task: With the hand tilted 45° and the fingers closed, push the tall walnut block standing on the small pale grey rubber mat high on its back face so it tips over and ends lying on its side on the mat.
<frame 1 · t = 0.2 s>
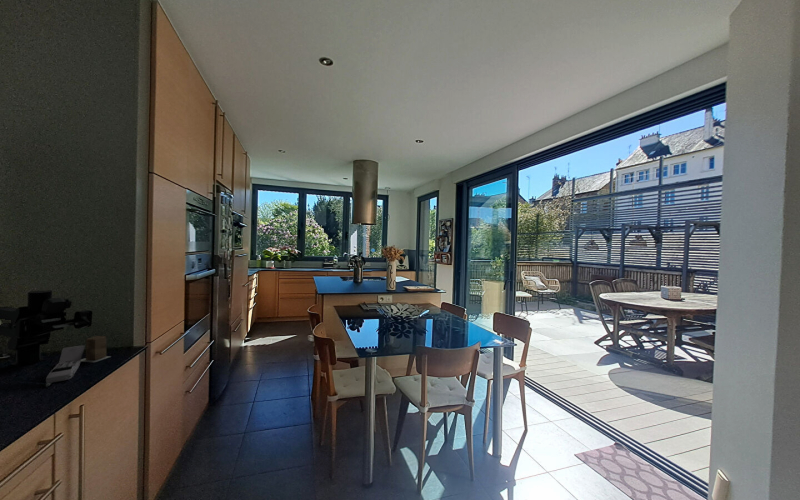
hand: (72, 326, 105), 16 cm above the countertop, tool horizontal, fingers open, 9 cm apart
walnut block: (96, 358, 118), resting on grey mat
grey mat: (94, 359, 117), on the countertop
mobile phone: (66, 373, 106), on the countertop
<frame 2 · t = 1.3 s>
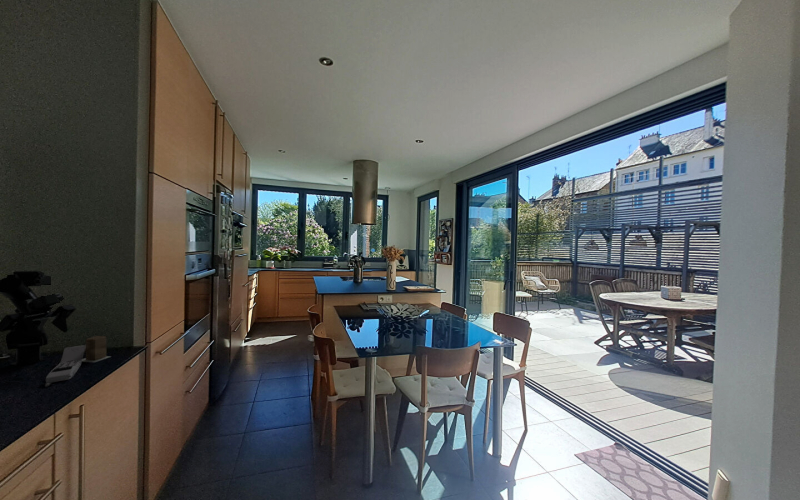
hand: (54, 334, 107), 13 cm above the countertop, tool tilted 45°, fingers open, 7 cm apart
nothing on the countertop moved.
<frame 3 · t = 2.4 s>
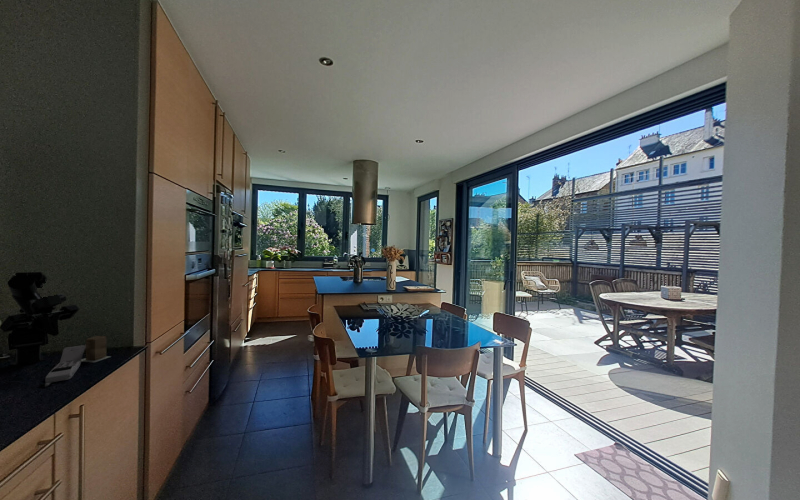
hand: (56, 334, 108), 12 cm above the countertop, tool tilted 45°, fingers closed
nothing on the countertop moved.
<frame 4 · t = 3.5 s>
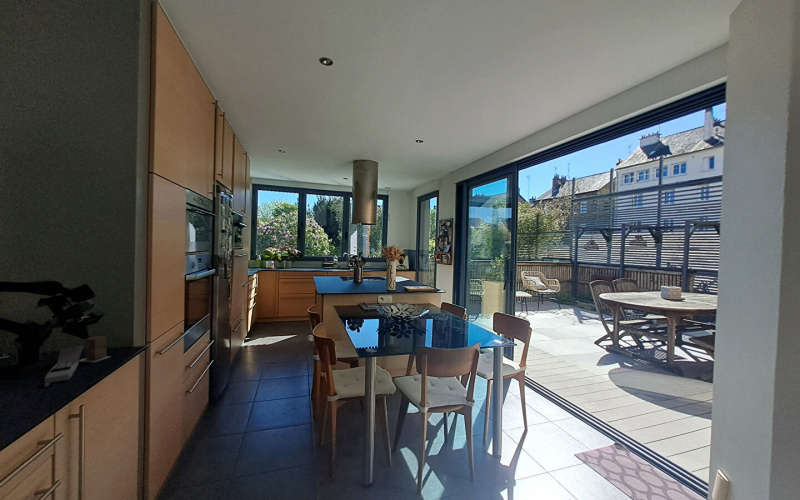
hand: (86, 338, 118), 8 cm above the countertop, tool tilted 45°, fingers closed
nothing on the countertop moved.
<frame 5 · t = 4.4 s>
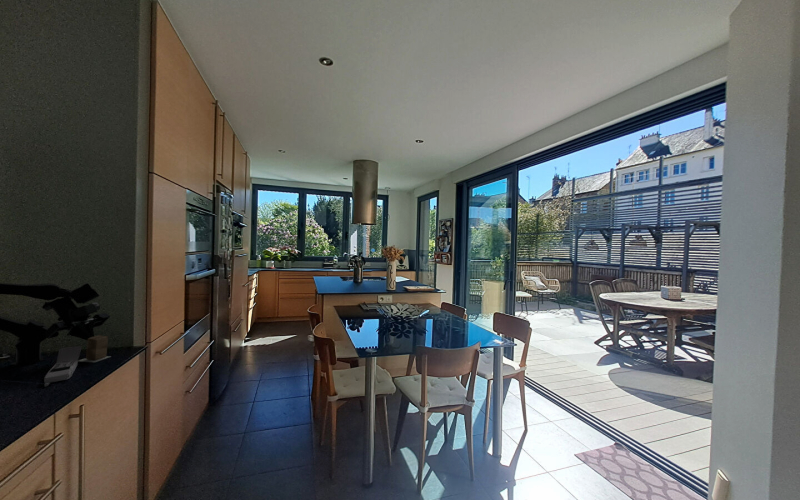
hand: (93, 340, 118), 7 cm above the countertop, tool tilted 45°, fingers closed
walnut block: (96, 357, 118), point 1 cm above the countertop, tilted 5°, touching grey mat, gripper
everything else where it was.
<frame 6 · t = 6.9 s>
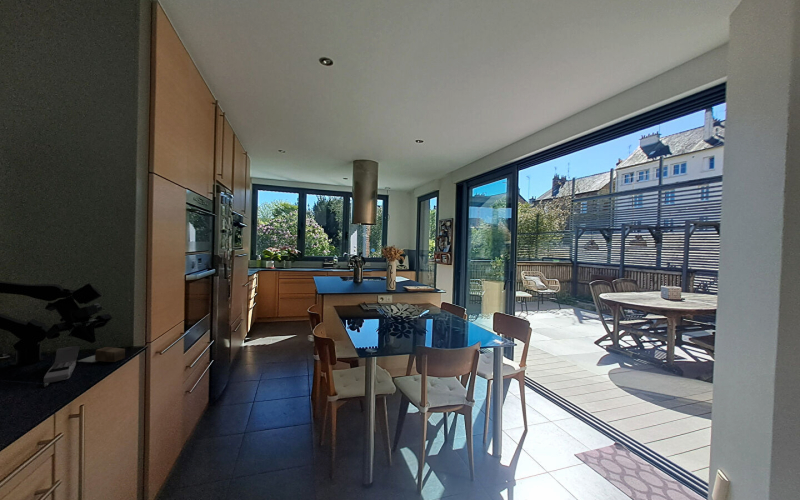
hand: (93, 342, 117), 7 cm above the countertop, tool tilted 45°, fingers closed
walnut block: (101, 353, 118), point 2 cm above the countertop, tilted 94°, touching grey mat
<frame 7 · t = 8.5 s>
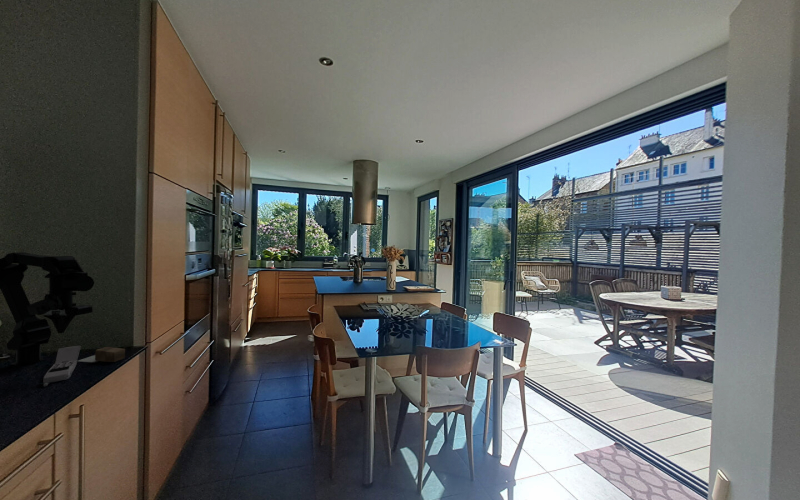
hand: (61, 333, 111), 12 cm above the countertop, tool pointing down, fingers closed
nothing on the countertop moved.
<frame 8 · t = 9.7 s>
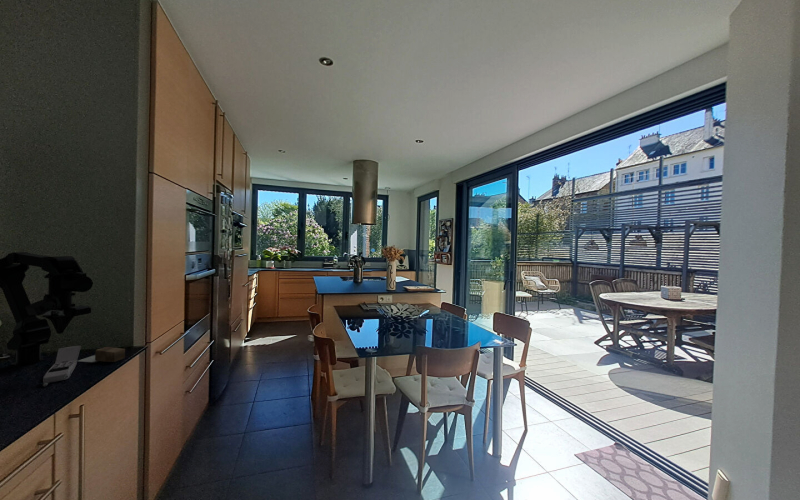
hand: (60, 333, 111), 12 cm above the countertop, tool pointing down, fingers closed
at the end: walnut block tilted 94°; walnut block 0.2 cm from the target spot on the grey mat, point 2.5 cm above the grey mat's base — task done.
